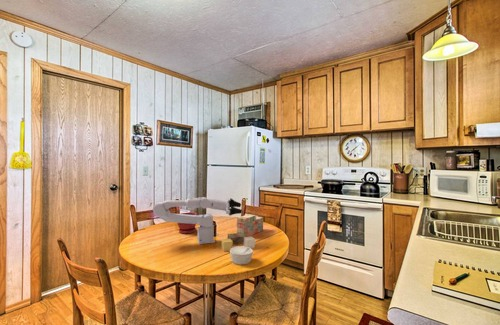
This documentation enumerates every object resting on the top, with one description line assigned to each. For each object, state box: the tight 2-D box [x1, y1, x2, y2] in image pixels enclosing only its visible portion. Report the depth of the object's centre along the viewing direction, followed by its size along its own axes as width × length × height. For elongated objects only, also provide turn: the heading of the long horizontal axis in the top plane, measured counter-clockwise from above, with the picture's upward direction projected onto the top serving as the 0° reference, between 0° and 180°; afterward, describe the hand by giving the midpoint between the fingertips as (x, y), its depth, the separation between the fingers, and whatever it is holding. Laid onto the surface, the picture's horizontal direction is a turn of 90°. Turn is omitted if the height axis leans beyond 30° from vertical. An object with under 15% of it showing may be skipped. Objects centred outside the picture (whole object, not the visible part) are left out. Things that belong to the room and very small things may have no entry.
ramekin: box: [229, 245, 254, 265], centre depth 120 cm, size 11×11×5 cm
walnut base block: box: [227, 232, 244, 245], centre depth 148 cm, size 8×8×4 cm
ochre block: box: [221, 238, 234, 252], centre depth 135 cm, size 5×5×5 cm
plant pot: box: [177, 212, 198, 234], centre depth 166 cm, size 13×13×12 cm
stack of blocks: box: [236, 213, 264, 237], centre depth 165 cm, size 21×6×12 cm, turn 143°
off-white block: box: [243, 235, 256, 249], centre depth 139 cm, size 5×5×5 cm
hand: (241, 208), depth 150 cm, fingers open, 7 cm apart
